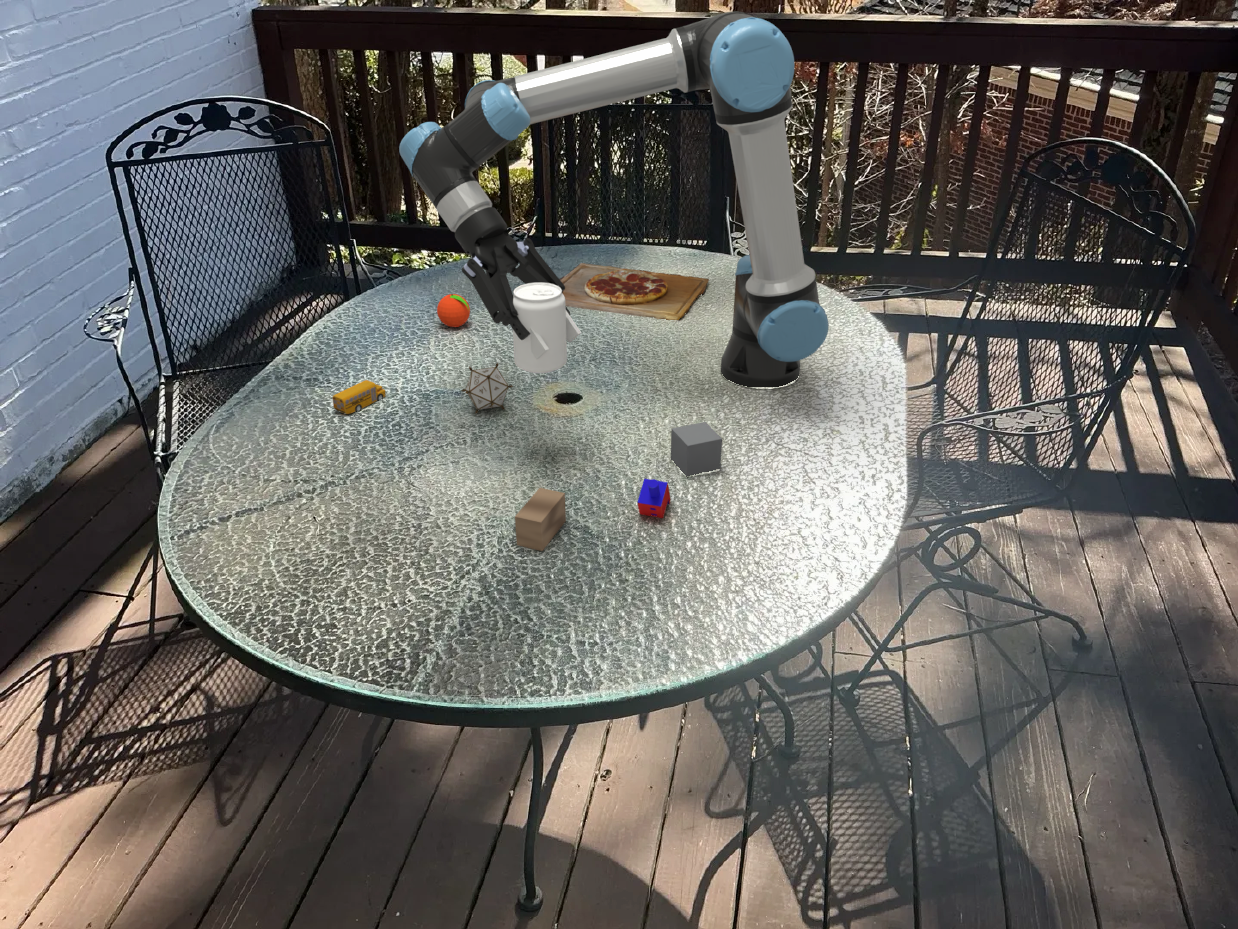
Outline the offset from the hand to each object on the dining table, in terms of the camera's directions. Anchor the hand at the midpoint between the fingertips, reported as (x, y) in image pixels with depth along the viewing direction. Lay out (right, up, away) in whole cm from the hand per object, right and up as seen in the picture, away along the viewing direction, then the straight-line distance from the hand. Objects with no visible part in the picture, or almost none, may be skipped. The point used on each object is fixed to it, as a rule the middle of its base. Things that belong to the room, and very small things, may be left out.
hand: (559, 345), depth 141 cm
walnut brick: (-2, -28, -6) cm, 29 cm away
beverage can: (-3, -3, +4) cm, 5 cm away
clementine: (-26, +11, +59) cm, 65 cm away
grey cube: (+21, -18, +10) cm, 30 cm away
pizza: (+11, +21, +77) cm, 80 cm away
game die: (-14, -8, +27) cm, 31 cm away
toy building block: (+14, -25, -2) cm, 29 cm away
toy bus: (-38, -7, +28) cm, 47 cm away
